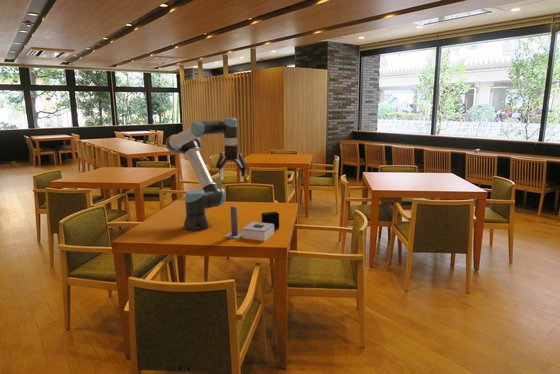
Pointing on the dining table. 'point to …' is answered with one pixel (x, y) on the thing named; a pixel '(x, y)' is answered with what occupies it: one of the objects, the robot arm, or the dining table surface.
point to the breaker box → (258, 231)
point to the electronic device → (271, 218)
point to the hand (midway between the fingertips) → (231, 180)
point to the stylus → (234, 221)
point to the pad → (233, 236)
